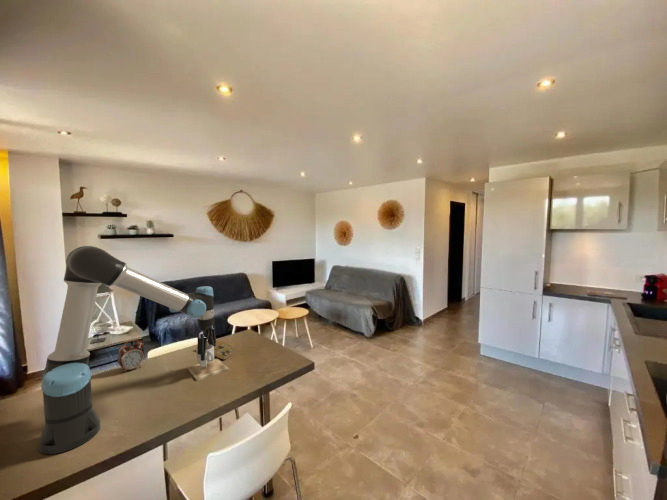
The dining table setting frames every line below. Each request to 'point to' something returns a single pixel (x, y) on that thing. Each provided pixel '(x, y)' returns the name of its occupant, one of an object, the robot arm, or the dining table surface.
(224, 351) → the decorative stone
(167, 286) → the robot arm
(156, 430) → the dining table surface
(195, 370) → the board
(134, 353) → the alarm clock
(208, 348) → the cup
